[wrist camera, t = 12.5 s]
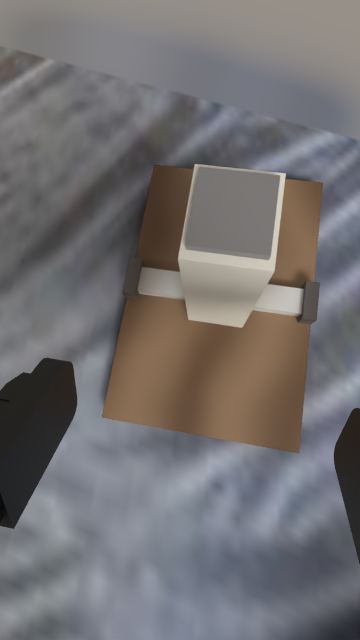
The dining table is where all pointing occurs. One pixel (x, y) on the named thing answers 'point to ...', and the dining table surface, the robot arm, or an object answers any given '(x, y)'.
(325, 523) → the dining table surface
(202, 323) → the rail board
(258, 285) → the rail module
